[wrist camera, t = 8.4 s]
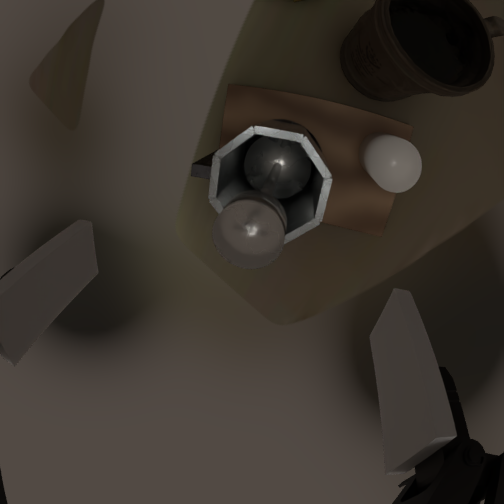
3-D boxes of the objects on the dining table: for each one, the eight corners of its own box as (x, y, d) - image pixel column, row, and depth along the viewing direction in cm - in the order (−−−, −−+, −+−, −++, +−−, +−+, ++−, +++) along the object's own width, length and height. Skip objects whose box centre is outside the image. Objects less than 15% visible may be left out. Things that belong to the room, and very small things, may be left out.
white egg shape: (364, 126, 32) (377, 130, 26) (406, 139, 32) (427, 147, 26) (353, 170, 35) (364, 184, 29) (395, 182, 35) (412, 198, 29)
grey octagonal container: (228, 110, 34) (191, 113, 23) (331, 129, 33) (345, 140, 22) (217, 190, 39) (182, 228, 28) (312, 209, 39) (315, 256, 27)
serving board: (231, 84, 34) (228, 84, 32) (409, 125, 32) (413, 126, 31) (216, 196, 42) (213, 200, 40) (379, 232, 40) (381, 237, 39)
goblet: (250, 127, 32) (185, 156, 15) (317, 140, 32) (335, 184, 14) (241, 189, 36) (179, 279, 18) (303, 202, 35) (300, 307, 18)
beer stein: (367, 118, 33) (442, 123, 15) (318, 51, 30) (349, -11, 12) (447, 71, 28) (544, 60, 10) (403, 8, 25) (477, -47, 7)
